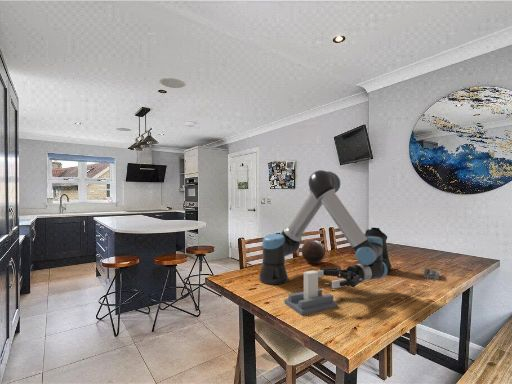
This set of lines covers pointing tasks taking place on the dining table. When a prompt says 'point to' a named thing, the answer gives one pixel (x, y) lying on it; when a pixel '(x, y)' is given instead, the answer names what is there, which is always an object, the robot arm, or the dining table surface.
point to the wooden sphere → (313, 251)
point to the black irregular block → (378, 233)
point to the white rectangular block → (310, 284)
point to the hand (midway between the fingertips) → (321, 279)
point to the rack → (310, 302)
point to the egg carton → (431, 274)
